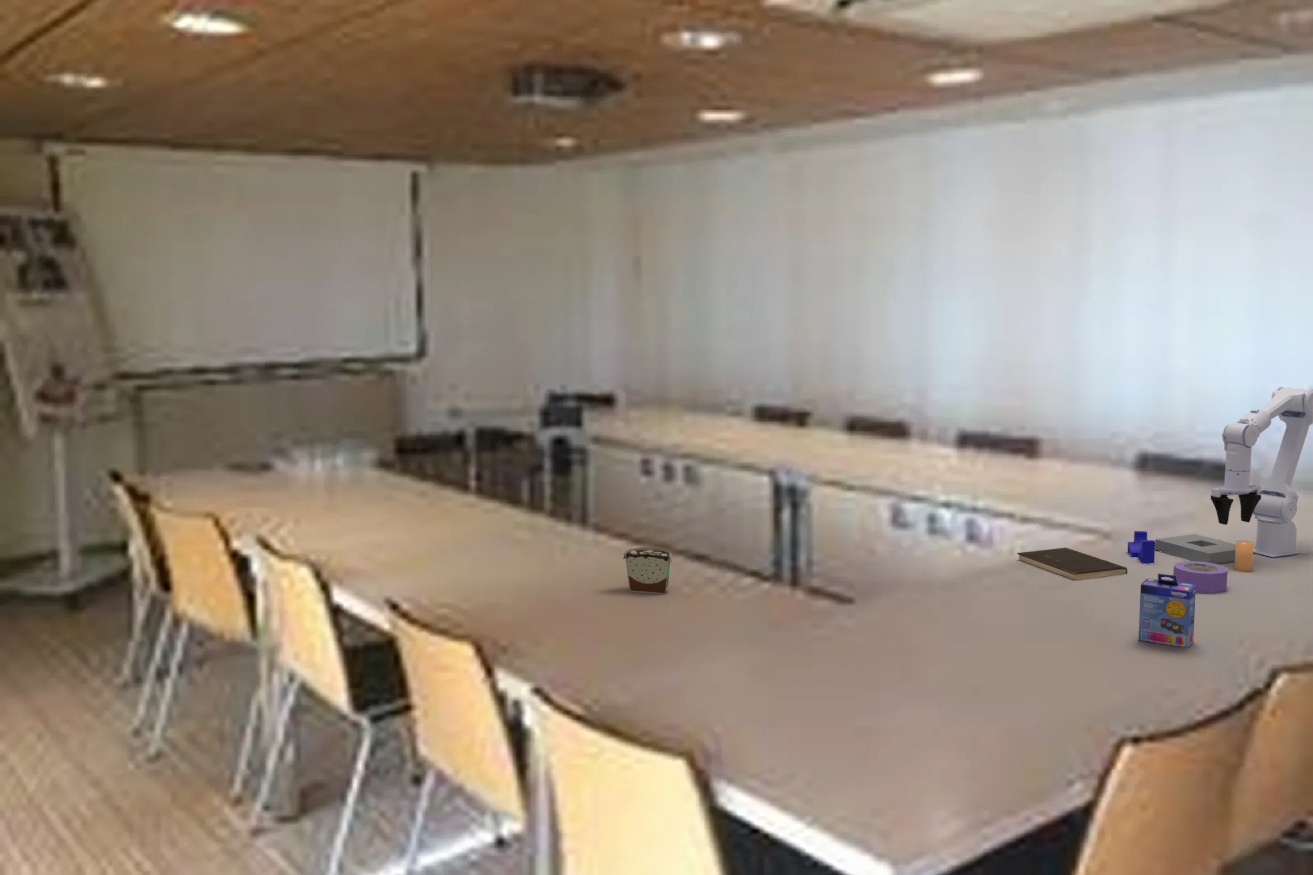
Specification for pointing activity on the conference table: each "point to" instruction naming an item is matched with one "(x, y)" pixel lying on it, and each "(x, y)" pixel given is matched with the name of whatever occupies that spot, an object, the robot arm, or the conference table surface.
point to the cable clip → (1142, 547)
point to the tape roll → (1202, 576)
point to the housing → (1197, 548)
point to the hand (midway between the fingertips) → (1234, 522)
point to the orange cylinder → (1243, 556)
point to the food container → (648, 569)
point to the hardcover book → (1071, 563)
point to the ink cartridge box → (1167, 611)
